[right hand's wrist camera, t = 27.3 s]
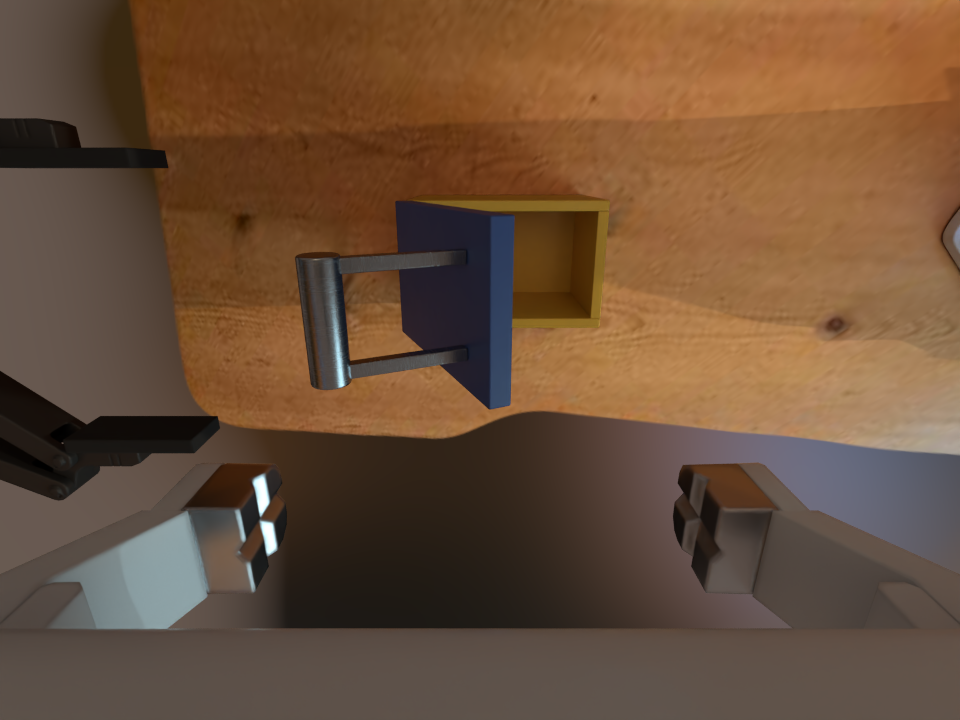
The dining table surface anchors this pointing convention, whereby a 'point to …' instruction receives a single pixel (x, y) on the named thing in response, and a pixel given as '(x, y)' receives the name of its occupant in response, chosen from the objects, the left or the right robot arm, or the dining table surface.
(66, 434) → the left robot arm
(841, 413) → the dining table surface
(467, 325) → the lid
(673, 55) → the dining table surface
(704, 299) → the dining table surface
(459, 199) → the chest
